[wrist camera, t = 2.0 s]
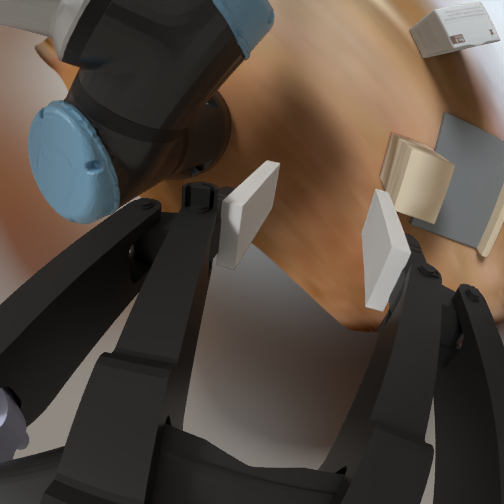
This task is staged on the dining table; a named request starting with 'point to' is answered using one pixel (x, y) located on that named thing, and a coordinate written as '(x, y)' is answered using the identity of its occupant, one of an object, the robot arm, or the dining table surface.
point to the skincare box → (453, 29)
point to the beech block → (415, 177)
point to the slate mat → (470, 185)
